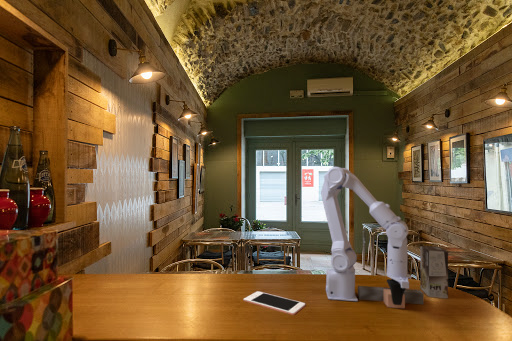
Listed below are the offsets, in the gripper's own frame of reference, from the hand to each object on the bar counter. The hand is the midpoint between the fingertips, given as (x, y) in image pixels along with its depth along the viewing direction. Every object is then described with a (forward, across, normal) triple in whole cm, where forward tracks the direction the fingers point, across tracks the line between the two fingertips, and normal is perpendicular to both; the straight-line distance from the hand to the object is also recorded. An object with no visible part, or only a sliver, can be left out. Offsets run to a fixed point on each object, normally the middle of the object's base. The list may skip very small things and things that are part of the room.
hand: (396, 304), depth 94 cm
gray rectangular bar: (+1, +7, 0) cm, 7 cm away
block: (+1, +3, 0) cm, 3 cm away
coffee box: (+2, +17, -18) cm, 25 cm away
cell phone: (+2, -3, +38) cm, 38 cm away
